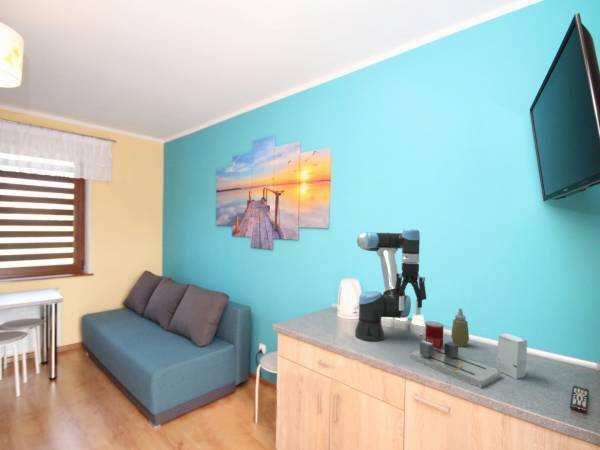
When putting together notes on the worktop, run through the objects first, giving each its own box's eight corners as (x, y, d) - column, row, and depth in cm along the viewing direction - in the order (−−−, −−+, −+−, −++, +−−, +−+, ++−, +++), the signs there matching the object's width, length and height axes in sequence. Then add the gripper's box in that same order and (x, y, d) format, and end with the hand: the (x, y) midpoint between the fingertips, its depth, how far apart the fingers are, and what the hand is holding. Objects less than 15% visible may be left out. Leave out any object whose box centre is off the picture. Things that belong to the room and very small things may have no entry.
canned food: (444, 349, 147) (445, 326, 147) (427, 347, 148) (427, 325, 149) (440, 343, 154) (441, 321, 155) (424, 342, 156) (424, 320, 156)
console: (409, 358, 135) (409, 340, 135) (430, 351, 144) (430, 334, 144) (481, 388, 111) (481, 366, 111) (500, 377, 120) (501, 357, 120)
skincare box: (496, 370, 126) (496, 334, 126) (505, 368, 128) (506, 332, 128) (517, 379, 118) (518, 341, 118) (527, 377, 120) (527, 339, 120)
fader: (419, 354, 133) (419, 341, 133) (425, 352, 135) (425, 339, 135) (428, 357, 130) (428, 344, 130) (433, 355, 132) (433, 342, 132)
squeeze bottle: (452, 346, 151) (453, 309, 151) (449, 340, 159) (450, 306, 159) (470, 348, 149) (471, 311, 149) (467, 342, 157) (467, 307, 157)
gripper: (386, 260, 147) (385, 308, 146) (426, 265, 130) (425, 319, 129) (396, 260, 151) (395, 306, 151) (436, 264, 134) (435, 316, 134)
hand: (409, 312), depth 140 cm, fingers open, 8 cm apart
